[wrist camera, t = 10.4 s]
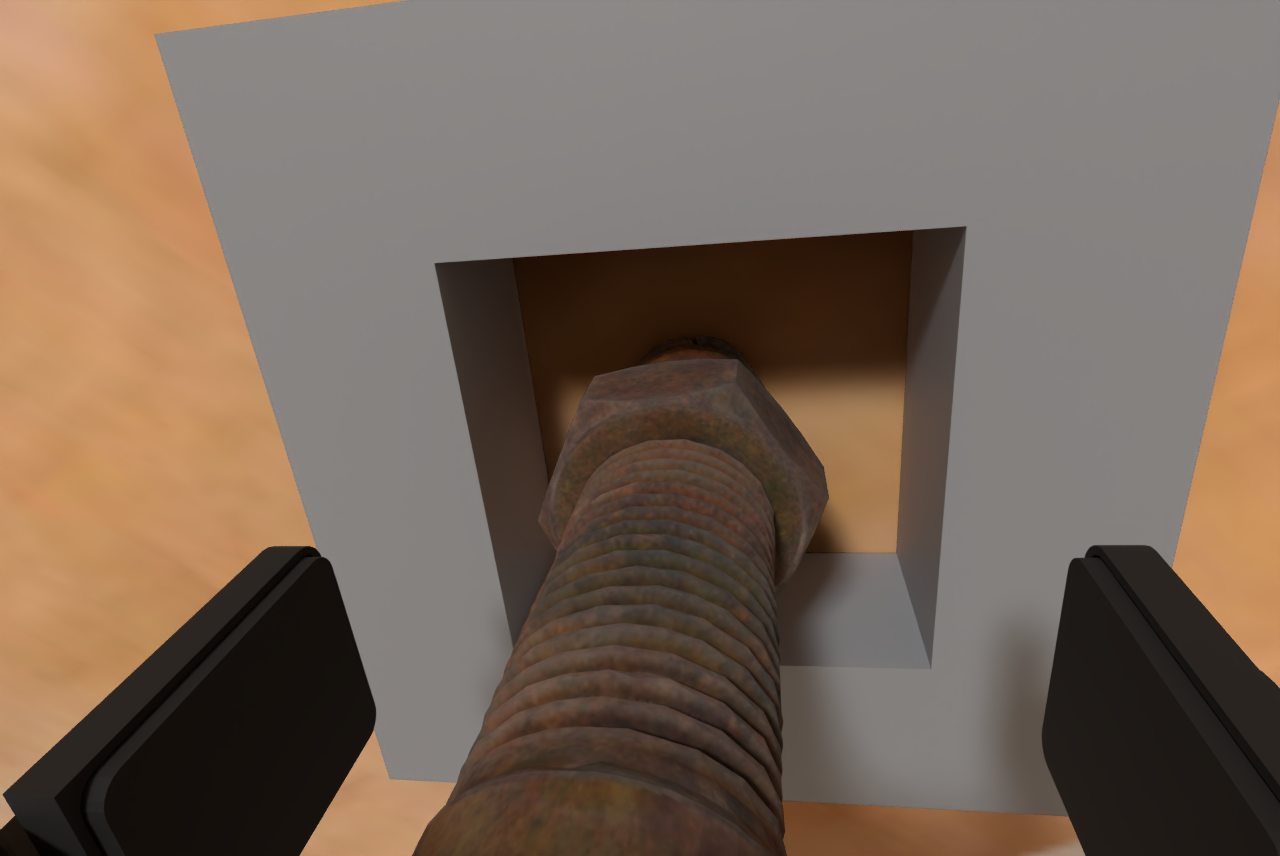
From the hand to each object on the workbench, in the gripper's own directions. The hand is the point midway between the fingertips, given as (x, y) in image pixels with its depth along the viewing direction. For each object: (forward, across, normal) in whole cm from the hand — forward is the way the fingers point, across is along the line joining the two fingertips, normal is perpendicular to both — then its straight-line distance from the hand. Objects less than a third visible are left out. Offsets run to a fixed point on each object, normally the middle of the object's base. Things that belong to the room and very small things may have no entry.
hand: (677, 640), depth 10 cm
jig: (+8, 0, 0) cm, 8 cm away
